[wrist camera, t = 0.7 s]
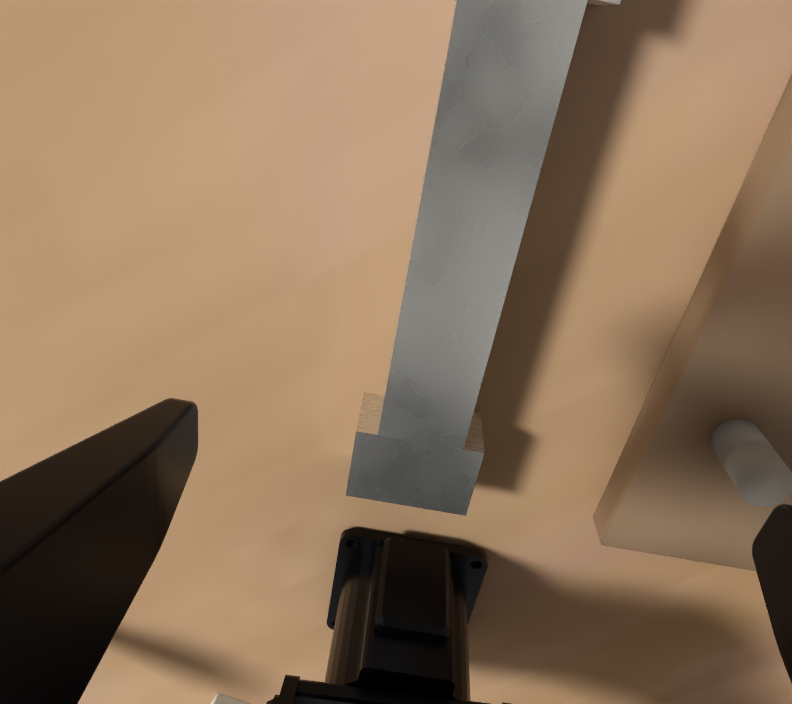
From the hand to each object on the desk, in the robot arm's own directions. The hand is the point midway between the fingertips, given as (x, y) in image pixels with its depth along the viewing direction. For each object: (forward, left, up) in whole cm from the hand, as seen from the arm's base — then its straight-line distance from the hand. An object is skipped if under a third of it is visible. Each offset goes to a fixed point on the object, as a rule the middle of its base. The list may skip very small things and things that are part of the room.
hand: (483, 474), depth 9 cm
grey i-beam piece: (0, 0, -12) cm, 12 cm away
